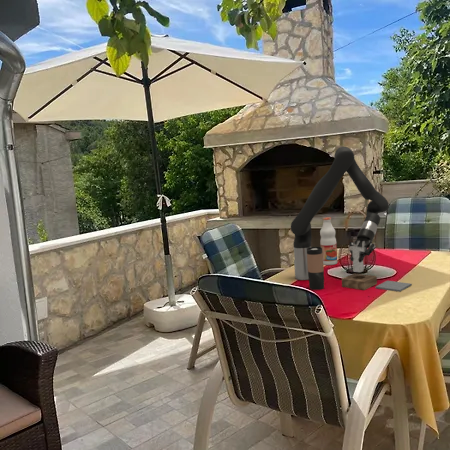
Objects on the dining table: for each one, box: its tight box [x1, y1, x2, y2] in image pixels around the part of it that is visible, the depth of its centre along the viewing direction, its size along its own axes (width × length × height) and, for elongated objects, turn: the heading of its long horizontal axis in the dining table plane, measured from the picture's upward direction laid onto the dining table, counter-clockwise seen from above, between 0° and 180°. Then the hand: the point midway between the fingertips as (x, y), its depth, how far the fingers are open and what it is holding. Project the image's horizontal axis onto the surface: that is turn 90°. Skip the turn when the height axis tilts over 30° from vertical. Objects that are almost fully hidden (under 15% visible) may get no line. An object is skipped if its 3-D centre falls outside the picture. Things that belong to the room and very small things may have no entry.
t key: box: [348, 245, 366, 273], centre depth 214 cm, size 8×4×12 cm, turn 44°
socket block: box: [341, 272, 378, 291], centre depth 215 cm, size 12×12×4 cm
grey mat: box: [374, 280, 413, 293], centre depth 208 cm, size 12×12×1 cm
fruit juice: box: [319, 216, 338, 266], centre depth 264 cm, size 9×9×28 cm
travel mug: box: [307, 246, 325, 291], centre depth 216 cm, size 8×8×20 cm
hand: (355, 260), depth 212 cm, fingers closed on t key, 3 cm apart
